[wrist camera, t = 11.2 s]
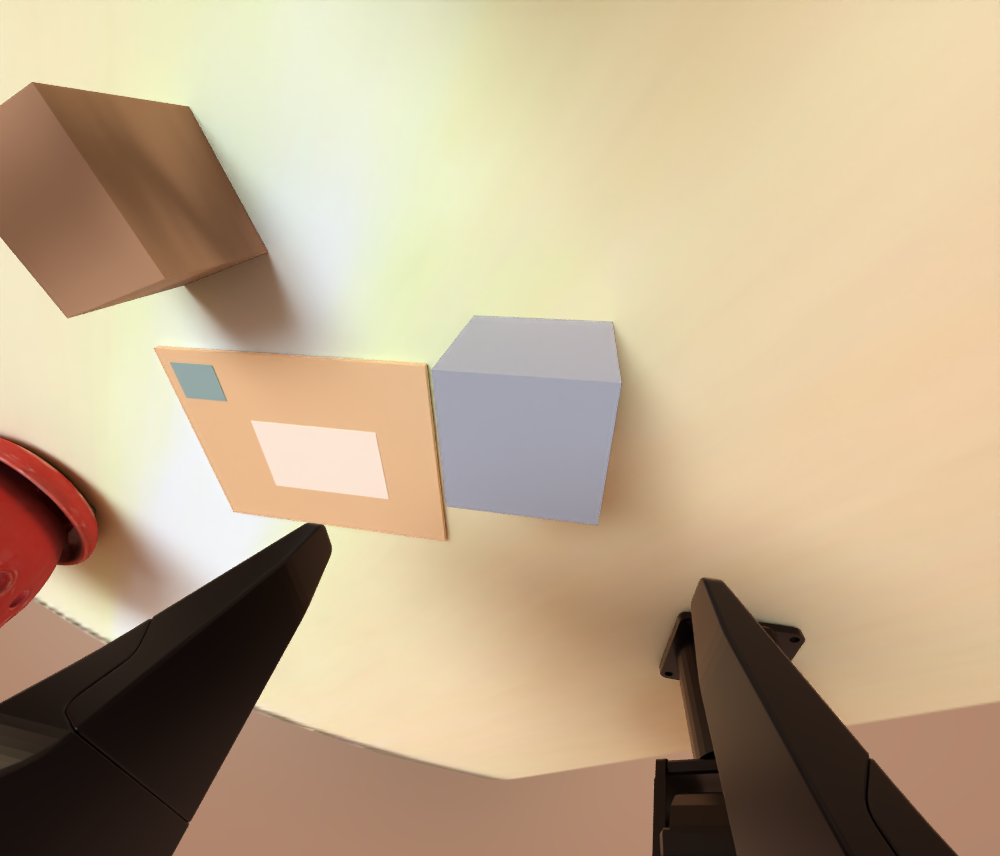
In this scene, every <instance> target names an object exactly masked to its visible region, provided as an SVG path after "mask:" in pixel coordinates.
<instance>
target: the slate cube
mask: <svg viewBox="0 0 1000 856" xmlns="http://www.w3.org/2000/svg"><path fill="white" fill-rule="evenodd" d="M432 378H433V388H434V397H435V406H436V416H437V425H438V434H439V443H440V453H441V462H442V471H443V481H444V490H445V499H446V507H454V508H462V509H470V510H478V511H486V512H494V513H502V514H511V515H519V516H527V517H535V518H543V519H551V520H559V521H567V522H575V523H583V524H591V525H598V522H599V516H600V510H601V504H602V498H603V492H604V486H605V480H606V474H607V468H608V462H609V456H610V450H611V444H612V438H613V432H614V426H615V420H616V414H617V408H618V402H619V395H620V389H621V383H622V382H621V376H620V369H619V362H618V356H617V349H616V342H615V336H614V329H613V323H612V322H605V321H584V320H562V319H540V318H519V317H497V316H476V315H474V316H473V317H472V319H471V320H470V321H469V323H468V324H467V325H466V326H465V328H464V329H463V330H462V331H461V333H460V334H459V335H458V337H457V338H456V339H455V340H454V342H453V343H452V344H451V346H450V347H449V348H448V349H447V351H446V352H445V353H444V354H443V356H442V357H441V358H440V360H439V361H438V362H437V363H436V365H435V366H434V367H433V368H432Z"/></svg>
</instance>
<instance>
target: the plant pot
mask: <svg viewBox="0 0 1000 856" xmlns="http://www.w3.org/2000/svg"><path fill="white" fill-rule="evenodd" d="M94 514H95V510H94V509H93V508H92V507H91V506H90V505H89V504H88V503H87V501H86V500H85V498H84V497H83V496H82V494H81V493H80V492H79V491H78V490H77V489H76V487H75V486H74V485H73V484H72V483H71V482H70V481H69V480H68V479H67V478H66V477H65V476H63V475H62V474H61V473H60V472H59V471H58V470H56V469H55V468H54V467H53V466H51V465H50V464H49V463H47V462H46V461H44V460H43V459H42V458H40V457H38V456H37V455H35V454H34V453H32V452H30V451H29V450H27V449H25V448H23V447H21V446H19V445H17V444H15V443H13V442H10V441H8V440H5V439H2V438H0V628H1V627H2V626H3V625H4V624H5V623H6V622H8V621H9V620H10V619H11V618H12V617H14V616H15V615H16V614H17V613H18V612H19V611H21V610H22V609H23V608H25V606H27V605H28V603H29V602H30V601H31V600H32V599H33V598H34V597H35V596H36V594H37V593H38V592H39V591H40V590H41V588H42V587H43V586H44V584H45V583H46V581H47V580H48V579H49V577H50V576H51V574H52V572H53V571H54V569H55V567H56V565H74V564H78V563H81V562H82V561H84V560H86V559H87V558H88V557H89V556H90V555H91V554H92V552H93V551H94V549H95V546H96V543H97V540H98V526H97V522H96V518H95V516H94Z"/></svg>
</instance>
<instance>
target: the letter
mask: <svg viewBox="0 0 1000 856" xmlns="http://www.w3.org/2000/svg"><path fill="white" fill-rule="evenodd" d="M154 350H155V352H156V354H157V356H158V358H159V360H160V362H161V364H162V366H163V368H164V370H165V372H166V374H167V376H168V378H169V381H170V383H171V385H172V387H173V389H174V391H175V393H176V395H177V397H178V399H179V401H180V403H181V405H182V407H183V409H184V411H185V413H186V415H187V417H188V419H189V422H190V424H191V426H192V428H193V430H194V432H195V434H196V436H197V438H198V440H199V442H200V444H201V446H202V448H203V450H204V452H205V454H206V456H207V458H208V461H209V463H210V465H211V467H212V469H213V471H214V473H215V475H216V477H217V479H218V481H219V483H220V485H221V487H222V489H223V491H224V493H225V495H226V497H227V499H228V502H229V504H230V506H231V508H232V510H233V512H237V513H245V514H252V515H259V516H267V517H274V518H281V519H288V520H296V521H303V522H310V523H318V524H325V525H332V526H340V527H347V528H354V529H361V530H369V531H376V532H383V533H391V534H398V535H405V536H413V537H420V538H427V539H435V540H442V541H445V540H446V528H445V519H444V510H443V502H442V493H441V484H440V475H439V466H438V458H437V449H436V440H435V431H434V422H433V414H432V405H431V396H430V387H429V378H428V370H427V364H425V363H410V362H394V361H379V360H364V359H349V358H334V357H319V356H304V355H289V354H274V353H259V352H244V351H229V350H214V349H199V348H183V347H168V346H157V347H155V348H154Z"/></svg>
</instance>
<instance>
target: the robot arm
mask: <svg viewBox="0 0 1000 856" xmlns="http://www.w3.org/2000/svg"><path fill="white" fill-rule="evenodd" d="M331 552H332V546H331V542H330V539H329V536H328V533H327V530H326V528H325V526H324V525H323V524H318V523H306V524H304V525H302V526H301V527H299V528H297V529H296V530H294V531H292V532H291V533H289V534H288V535H286V536H284V537H283V538H281V539H279V540H278V541H276V542H274V543H273V544H271V545H270V546H268V547H266V548H265V549H263V550H261V551H260V552H258V553H257V554H255V555H253V556H252V557H250V558H248V559H247V560H245V561H243V562H242V563H240V564H239V565H237V566H235V567H234V568H232V569H230V570H229V571H227V572H225V573H224V574H222V575H221V576H219V577H217V578H216V579H214V580H212V581H211V582H209V583H207V584H206V585H204V586H203V587H201V588H199V589H198V590H196V591H194V592H193V593H191V594H189V595H188V596H186V597H185V598H183V599H181V600H180V601H178V602H176V603H175V604H173V605H171V606H170V607H168V608H167V609H165V610H163V611H162V612H160V613H158V614H157V615H155V616H154V617H153V618H152V619H148V620H147V621H145V622H143V623H142V624H140V625H139V626H137V627H135V628H134V629H132V630H130V631H129V632H127V633H125V634H124V635H122V636H120V637H119V638H117V639H115V640H114V641H112V642H110V643H108V644H107V645H105V646H104V647H102V648H100V649H98V650H96V651H95V652H93V653H91V654H89V655H88V656H86V657H84V658H82V659H80V660H78V661H77V662H75V663H73V664H71V665H69V666H68V667H66V668H64V669H62V670H60V671H58V672H57V673H55V674H53V675H51V676H49V677H47V678H46V679H44V680H42V681H40V682H39V683H36V684H35V685H33V686H31V687H29V688H27V689H25V690H23V691H22V692H20V693H18V694H16V695H14V696H12V697H11V698H9V699H7V700H5V701H3V702H2V703H0V856H172V855H173V853H174V851H175V849H176V848H177V846H178V844H179V842H180V840H181V839H182V837H183V835H184V833H185V831H186V829H187V828H188V826H189V822H190V821H191V820H192V818H193V816H194V814H195V813H196V811H197V809H198V807H199V805H200V804H201V802H202V800H203V798H204V796H205V794H206V793H207V791H208V789H209V787H210V785H211V784H212V782H213V780H214V778H215V776H216V775H217V773H218V771H219V769H220V767H221V765H222V764H223V762H224V760H225V758H226V756H227V755H228V753H229V751H230V749H231V747H232V745H233V744H234V742H235V740H236V738H237V737H238V735H239V733H240V731H241V729H242V728H243V726H244V724H245V722H246V720H247V718H248V717H249V715H250V713H251V711H252V709H253V708H254V706H255V704H256V702H257V700H258V699H259V697H260V695H261V693H262V691H263V689H264V688H265V686H266V684H267V682H268V680H269V679H270V677H271V675H272V673H273V671H274V670H275V668H276V666H277V664H278V662H279V661H280V659H281V657H282V655H283V653H284V651H285V650H286V648H287V646H288V644H289V642H290V641H291V639H292V637H293V635H294V633H295V632H296V630H297V628H298V626H299V624H300V622H301V621H302V619H303V617H304V615H305V613H306V611H307V609H308V607H309V605H310V602H311V600H312V598H313V595H314V593H315V591H316V588H317V586H318V584H319V581H320V579H321V577H322V574H323V572H324V570H325V568H326V565H327V563H328V561H329V558H330V556H331ZM804 642H805V638H804V636H803V634H802V632H801V630H800V629H797V628H793V627H786V626H780V625H773V624H766V623H760V622H757V621H756V619H755V618H754V617H753V616H752V615H751V614H750V612H749V611H748V610H747V609H746V608H745V606H744V605H743V604H742V603H741V602H740V601H739V599H738V598H737V597H736V596H735V595H734V593H733V592H732V591H731V590H730V589H729V587H728V586H727V585H726V584H725V583H724V582H723V581H721V580H719V579H712V578H705V577H704V578H701V579H700V581H699V583H698V586H697V588H696V591H695V593H694V596H693V599H692V602H691V612H682V613H681V614H679V616H678V618H677V621H676V624H675V626H674V629H673V632H672V634H671V637H670V640H669V642H668V645H667V648H666V650H665V653H664V656H663V658H662V661H661V664H660V674H661V675H662V676H663V677H665V678H670V679H676V680H680V685H681V691H682V696H683V702H684V708H685V713H686V719H687V724H688V730H689V736H690V741H691V747H692V753H693V758H694V759H688V760H672V761H668V759H656V774H655V775H656V776H655V779H654V813H653V814H654V816H653V854H652V856H958V855H957V854H956V853H955V851H953V850H952V848H951V847H950V846H949V845H948V844H947V843H946V842H945V841H944V840H943V838H941V836H940V835H939V834H938V833H937V832H936V831H935V830H934V829H933V828H932V826H930V824H929V823H928V822H927V821H926V820H925V819H924V817H923V816H922V815H921V814H920V813H919V812H918V811H917V809H916V808H915V807H914V806H913V805H912V804H911V803H910V801H909V800H908V799H907V798H906V797H905V796H904V795H903V793H902V792H901V791H900V790H899V789H898V788H897V787H896V785H895V784H894V783H893V782H892V781H891V779H890V778H889V777H888V776H887V775H886V773H885V772H884V771H883V770H882V769H881V768H880V766H879V765H878V764H877V763H876V762H875V760H873V759H871V758H869V754H868V752H867V751H866V750H865V749H864V748H863V747H862V745H861V744H860V743H859V742H858V740H857V739H856V738H855V737H854V736H853V735H852V733H851V732H850V731H849V730H848V729H847V727H846V726H845V725H844V724H843V723H842V722H841V720H840V719H839V718H838V717H837V716H836V714H835V713H834V712H833V711H832V710H831V708H830V707H829V706H828V705H827V704H826V703H825V701H824V700H823V699H822V698H821V697H820V695H819V694H818V693H817V692H816V691H815V689H814V688H813V687H812V686H811V685H810V684H809V682H808V681H807V680H806V679H805V678H804V676H803V675H802V674H801V673H800V672H799V671H798V669H797V668H796V667H795V666H794V665H793V663H792V662H791V660H792V659H793V658H794V656H795V655H796V653H797V652H798V650H799V649H800V647H801V646H802V644H803V643H804Z"/></svg>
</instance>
